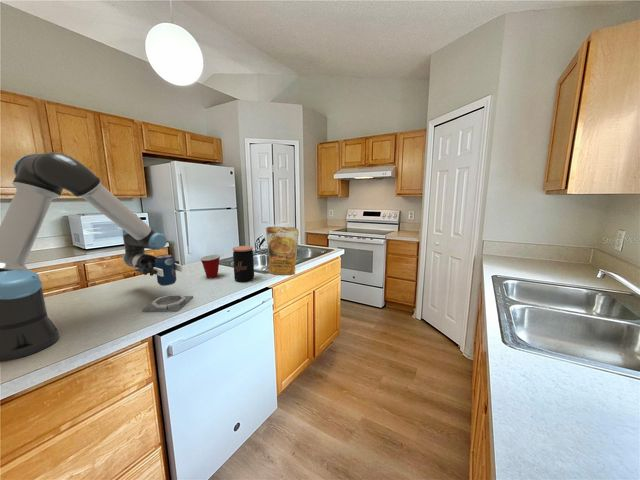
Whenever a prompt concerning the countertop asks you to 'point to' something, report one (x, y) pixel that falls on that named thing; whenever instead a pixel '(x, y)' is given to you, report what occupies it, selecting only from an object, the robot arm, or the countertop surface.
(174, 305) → the mount plate
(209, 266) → the plastic cup
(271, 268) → the pancake mix bag
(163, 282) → the soda can
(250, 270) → the coffee jar
